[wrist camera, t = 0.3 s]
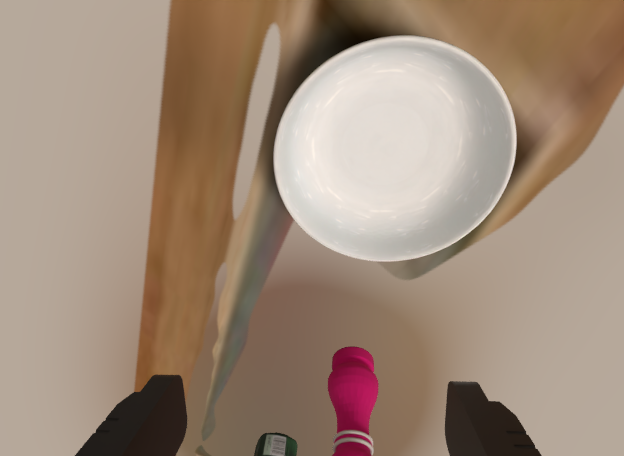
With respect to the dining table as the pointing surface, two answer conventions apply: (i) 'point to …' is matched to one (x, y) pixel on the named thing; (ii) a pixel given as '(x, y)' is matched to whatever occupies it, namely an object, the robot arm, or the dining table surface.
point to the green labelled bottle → (276, 445)
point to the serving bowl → (394, 148)
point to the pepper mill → (353, 400)
